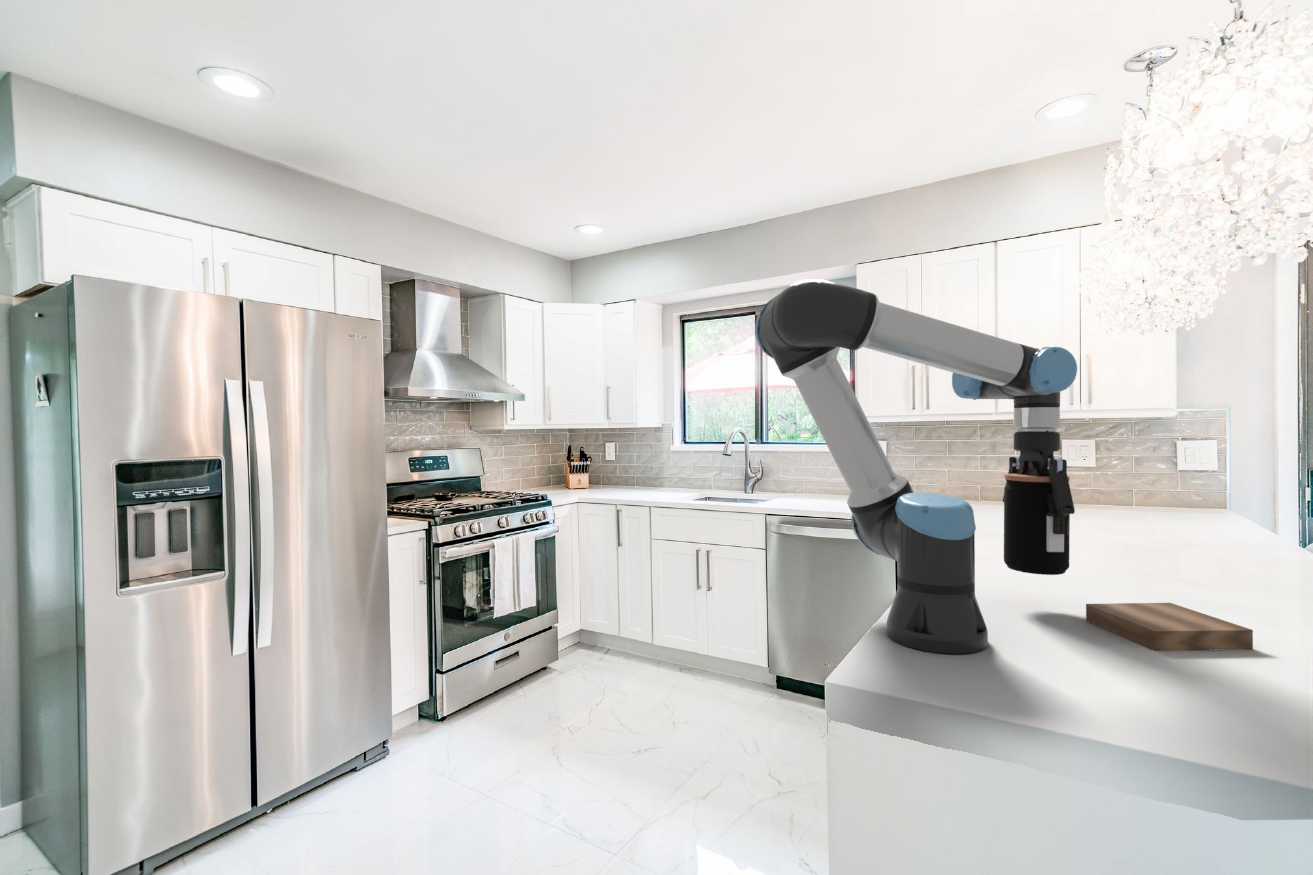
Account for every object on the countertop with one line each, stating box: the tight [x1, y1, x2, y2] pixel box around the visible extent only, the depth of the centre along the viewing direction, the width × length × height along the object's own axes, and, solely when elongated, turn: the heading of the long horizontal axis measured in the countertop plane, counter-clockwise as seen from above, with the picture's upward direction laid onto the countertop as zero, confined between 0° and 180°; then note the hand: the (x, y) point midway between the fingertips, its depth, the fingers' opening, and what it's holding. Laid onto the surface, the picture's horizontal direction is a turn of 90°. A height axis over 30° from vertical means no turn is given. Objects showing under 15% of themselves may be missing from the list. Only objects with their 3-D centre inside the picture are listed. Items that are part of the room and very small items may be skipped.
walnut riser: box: [1085, 602, 1254, 652], centre depth 101 cm, size 15×15×3 cm
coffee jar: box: [1003, 473, 1071, 576], centre depth 116 cm, size 11×11×18 cm
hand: (1035, 545), depth 116 cm, fingers closed on coffee jar, 11 cm apart
